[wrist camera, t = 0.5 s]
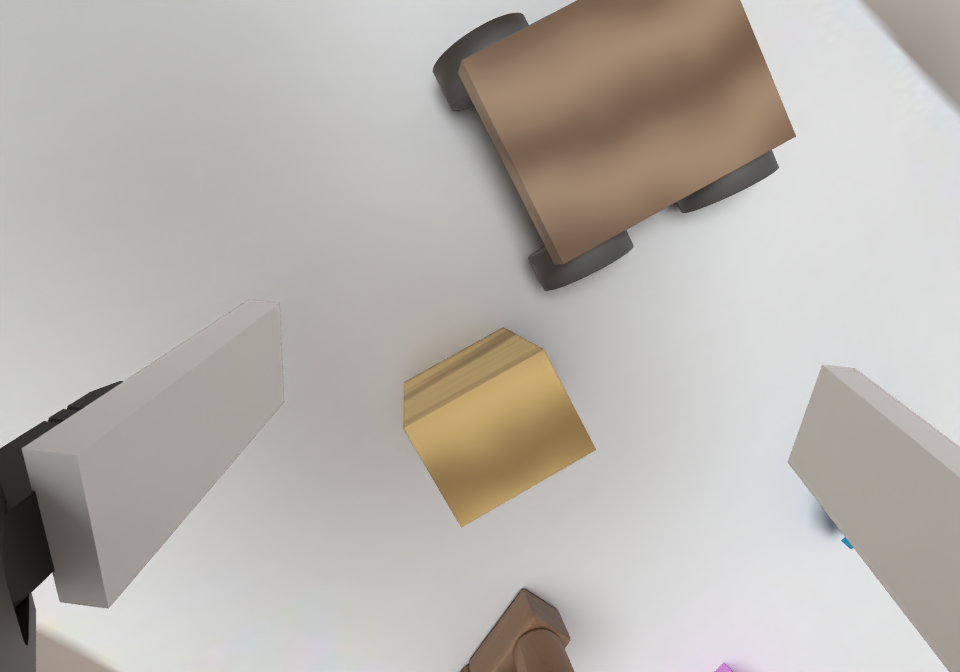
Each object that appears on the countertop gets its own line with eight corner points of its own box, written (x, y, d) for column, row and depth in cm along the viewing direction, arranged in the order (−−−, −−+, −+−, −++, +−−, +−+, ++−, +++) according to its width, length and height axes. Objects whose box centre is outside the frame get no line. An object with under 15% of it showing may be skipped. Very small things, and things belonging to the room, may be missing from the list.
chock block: (404, 382, 39) (403, 428, 27) (504, 326, 40) (546, 348, 28) (445, 453, 40) (461, 527, 28) (542, 397, 41) (598, 448, 29)
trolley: (430, 87, 37) (436, 39, 30) (651, -28, 38) (711, -101, 31) (534, 289, 40) (564, 292, 32) (739, 176, 41) (815, 154, 33)
